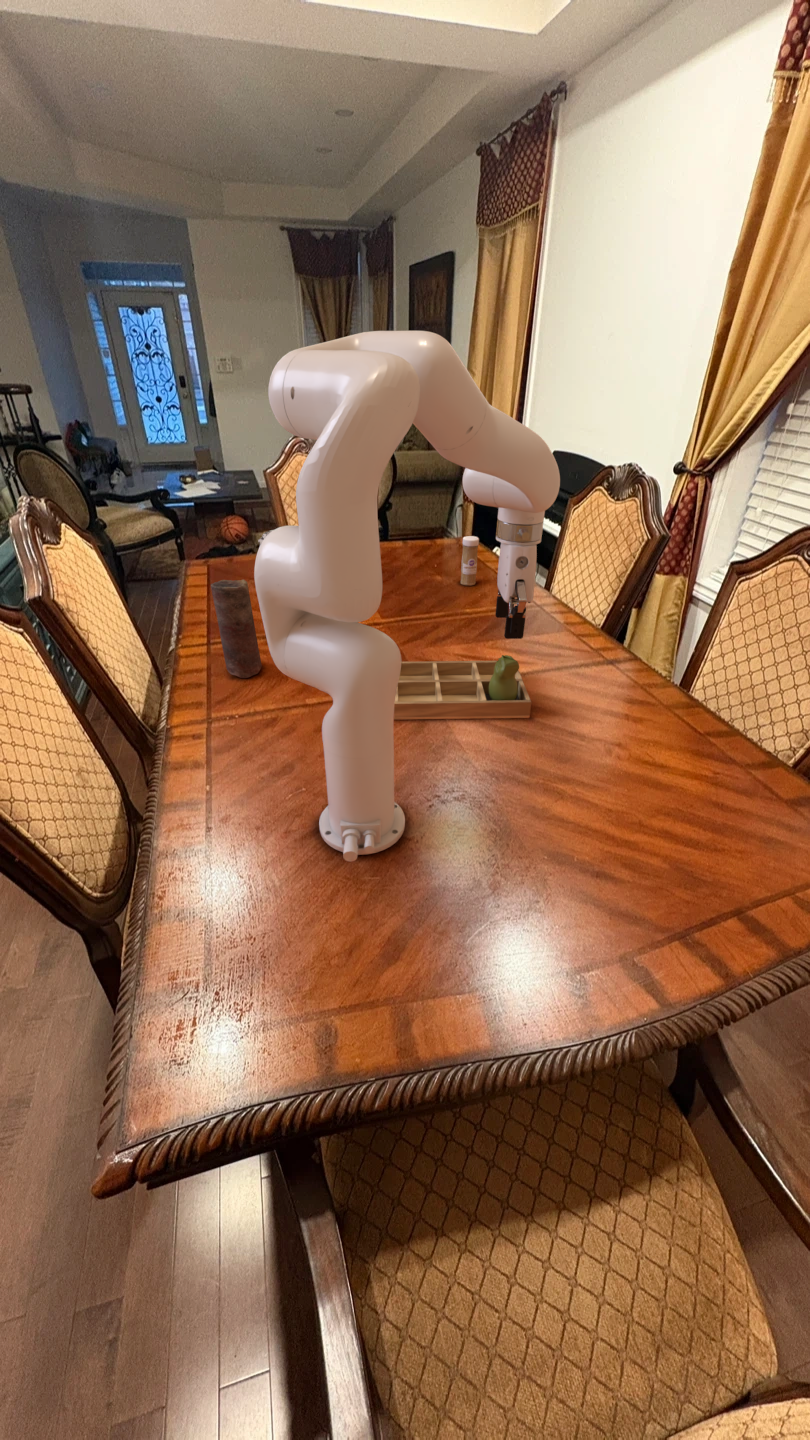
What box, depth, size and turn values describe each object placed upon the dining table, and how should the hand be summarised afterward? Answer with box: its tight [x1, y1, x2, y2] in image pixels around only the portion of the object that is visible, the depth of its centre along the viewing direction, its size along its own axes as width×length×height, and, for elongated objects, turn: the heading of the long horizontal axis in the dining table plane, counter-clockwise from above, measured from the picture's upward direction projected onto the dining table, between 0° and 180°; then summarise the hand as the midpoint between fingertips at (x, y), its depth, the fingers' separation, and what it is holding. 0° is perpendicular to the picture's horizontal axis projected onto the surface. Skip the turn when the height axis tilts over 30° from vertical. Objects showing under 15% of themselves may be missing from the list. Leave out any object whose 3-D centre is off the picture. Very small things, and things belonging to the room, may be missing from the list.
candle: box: [210, 579, 263, 679], centre depth 126 cm, size 8×7×20 cm
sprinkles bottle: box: [459, 535, 480, 587], centre depth 175 cm, size 5×5×14 cm
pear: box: [489, 654, 520, 700], centre depth 116 cm, size 6×5×10 cm
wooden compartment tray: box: [394, 660, 532, 721], centre depth 121 cm, size 17×26×4 cm
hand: (508, 627), depth 110 cm, fingers open, 9 cm apart
